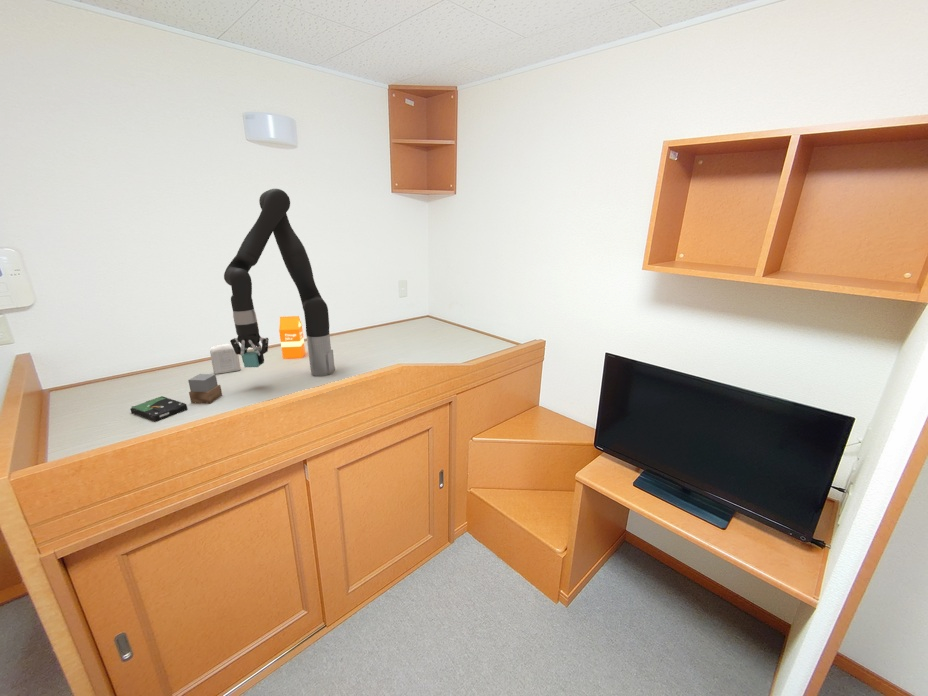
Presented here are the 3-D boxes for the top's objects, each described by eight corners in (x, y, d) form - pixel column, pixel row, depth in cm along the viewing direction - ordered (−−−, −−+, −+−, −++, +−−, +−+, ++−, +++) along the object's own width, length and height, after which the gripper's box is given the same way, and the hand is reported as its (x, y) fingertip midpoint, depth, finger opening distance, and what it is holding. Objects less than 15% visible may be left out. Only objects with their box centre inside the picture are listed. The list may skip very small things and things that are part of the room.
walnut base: (222, 395, 148) (220, 384, 147) (210, 403, 141) (208, 392, 140) (204, 395, 148) (201, 384, 147) (191, 403, 142) (188, 392, 140)
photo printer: (240, 367, 177) (235, 341, 173) (241, 370, 174) (236, 343, 170) (213, 372, 172) (208, 345, 168) (214, 375, 168) (208, 347, 165)
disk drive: (188, 410, 137) (163, 402, 143) (187, 403, 136) (161, 395, 142) (156, 423, 128) (130, 414, 134) (154, 416, 127) (128, 406, 133)
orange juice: (302, 358, 190) (297, 317, 184) (282, 359, 189) (277, 318, 183) (305, 353, 198) (300, 314, 192) (287, 354, 196) (281, 315, 190)
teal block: (263, 362, 155) (261, 350, 154) (257, 367, 151) (255, 354, 149) (251, 362, 155) (249, 350, 154) (244, 367, 151) (242, 355, 149)
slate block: (217, 385, 146) (215, 374, 145) (207, 392, 140) (204, 380, 139) (202, 385, 146) (199, 373, 145) (190, 391, 141) (188, 380, 139)
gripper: (269, 318, 151) (276, 360, 156) (232, 319, 151) (241, 361, 157) (259, 323, 144) (267, 367, 149) (221, 324, 144) (230, 367, 149)
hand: (254, 363), depth 153 cm, fingers closed on teal block, 5 cm apart
